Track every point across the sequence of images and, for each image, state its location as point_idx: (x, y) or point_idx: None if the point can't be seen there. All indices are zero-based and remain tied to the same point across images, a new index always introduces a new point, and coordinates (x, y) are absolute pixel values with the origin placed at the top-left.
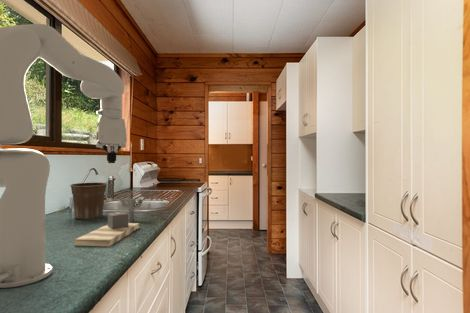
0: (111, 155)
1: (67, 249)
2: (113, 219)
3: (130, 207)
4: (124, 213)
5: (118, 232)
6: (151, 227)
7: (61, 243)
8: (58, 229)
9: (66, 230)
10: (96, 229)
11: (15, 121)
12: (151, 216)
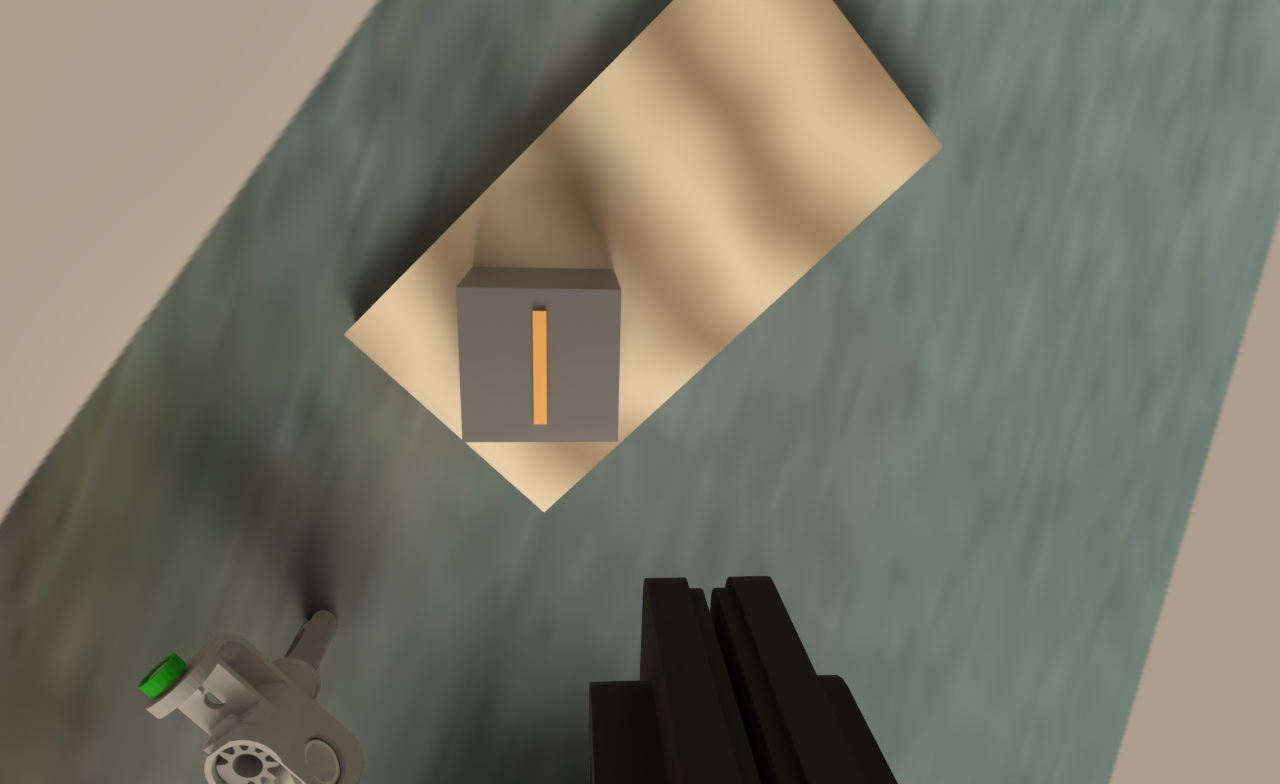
0: (809, 722)
1: (990, 78)
2: (610, 282)
3: (297, 687)
4: (484, 328)
5: (613, 119)
6: (249, 272)
7: (965, 270)
8: (856, 670)
9: (826, 609)
10: (716, 353)
11: None
12: (105, 674)
